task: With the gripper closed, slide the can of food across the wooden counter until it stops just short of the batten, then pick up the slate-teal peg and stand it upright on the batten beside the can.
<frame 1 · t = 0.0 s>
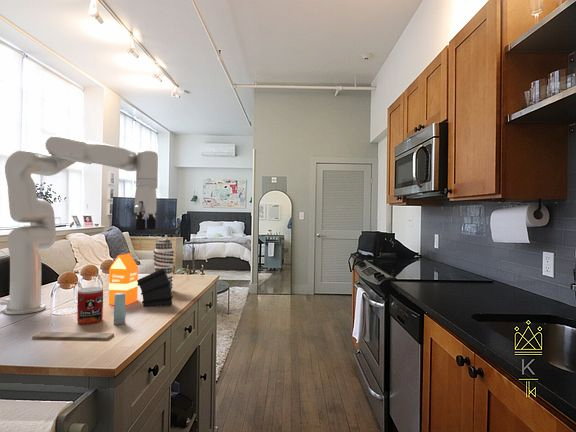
hand: (146, 229, 135), 31 cm above the countertop, tool pointing down, fingers open, 9 cm apart
decorative candle: (163, 291, 172), on the countertop
orange juice: (123, 302, 150), on the countertop
black layered block: (154, 306, 145), on the countertop
canned food: (90, 321, 123), on the countertop
batten: (73, 337, 107), on the countertop
peg: (119, 323, 121), on the countertop
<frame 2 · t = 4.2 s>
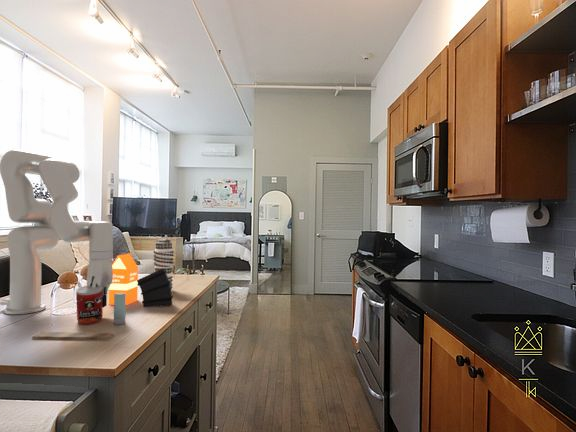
hand: (101, 306, 129), 4 cm above the countertop, tool pointing down, fingers closed
canned food: (90, 320, 123), on the countertop, touching gripper
everything else where it was.
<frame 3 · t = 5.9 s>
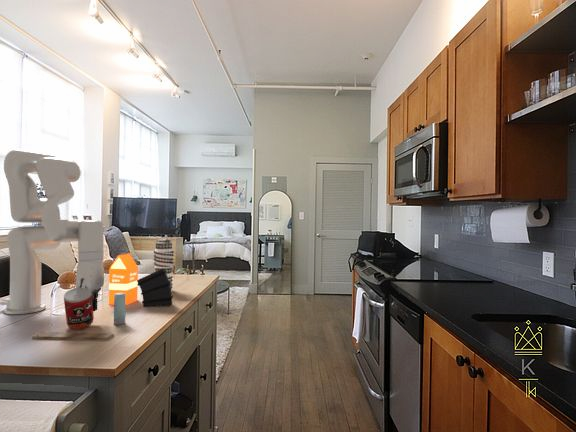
hand: (91, 310, 121), 4 cm above the countertop, tool pointing down, fingers closed
canned food: (80, 322, 117), point 1 cm above the countertop, touching gripper
everything else where it was.
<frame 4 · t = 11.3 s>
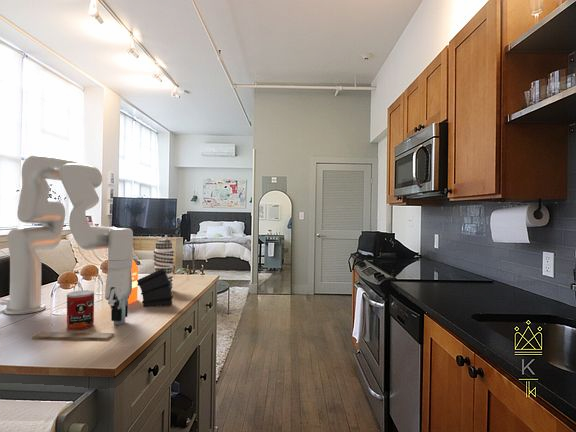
hand: (119, 318, 121), 2 cm above the countertop, tool pointing down, fingers closed on peg, 3 cm apart
canned food: (80, 326, 117), on the countertop
peg: (119, 323, 121), on the countertop, touching gripper
everything else where it was.
when the fingers open (3 cm above the countertop, at t = 16.2 s): peg stays where it is, resting on batten.
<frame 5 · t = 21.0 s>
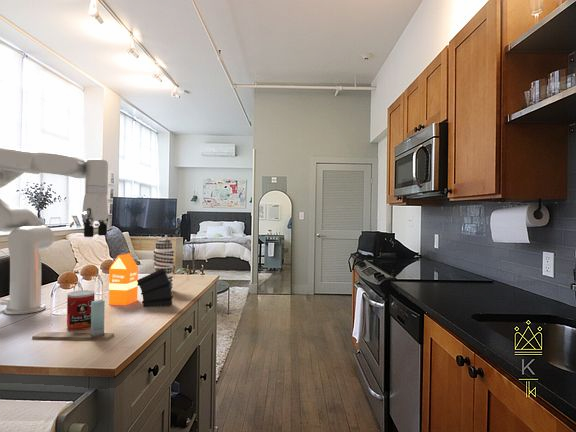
hand: (95, 236, 137), 28 cm above the countertop, tool pointing down, fingers open, 9 cm apart
peg: (97, 335, 107), point 1 cm above the countertop, touching batten
everything else where it was.
at the end: canned food inside the target area (1.9 cm from its centre), on the countertop; peg 0.0 cm from the target spot, point 0.8 cm above the countertop; peg tilted 0° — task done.
